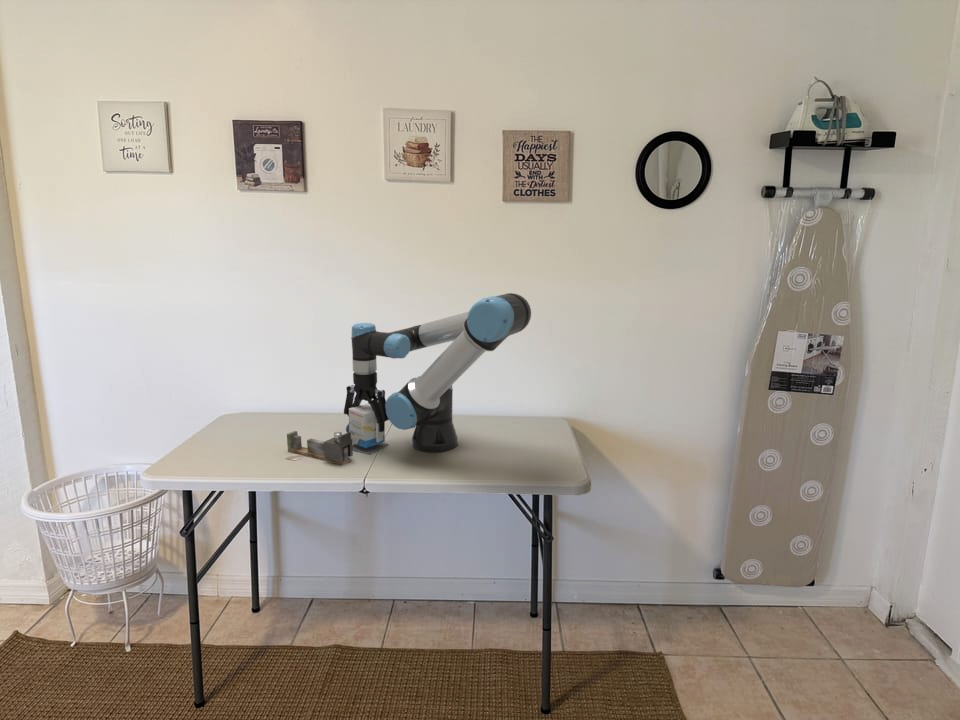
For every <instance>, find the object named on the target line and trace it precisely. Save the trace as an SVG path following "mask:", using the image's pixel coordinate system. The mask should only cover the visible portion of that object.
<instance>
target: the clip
mask: <svg viewBox="0 0 960 720" xmlns="http://www.w3.org/2000/svg"><path fill="white" fill-rule="evenodd" d="M352 445H353V443H352V439H351V432H348V433H347V432H346V433H344V434H343V432H341V431H336V432H333V437H332V438H330V439H328V440H325V441H324V453H325V459H329V460H333V461H337V462H341V461H343V457H342V448H343V447H345V446H347V447H348V458H352V457H353V456H354V451H353V446H352Z"/></svg>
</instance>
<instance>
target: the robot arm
mask: <svg viewBox="0 0 960 720" xmlns="http://www.w3.org/2000/svg"><path fill="white" fill-rule="evenodd" d="M531 319H532V308H531V306H530V304H529V302H528V300H527V299H526V298H525V297H524V296H522V295H520V294H517V293H512V292H511V293H504V294H500V295H496V296H495V295H494V296H493V295H492V296H487V297H483V298H482V299H480V300H478V301H477V302H475V303H474V304H473V305H472V306H471V308H470V309H469V310H468V311H466V312H463V313H458V314H455V315H452V316H451V315H450V316H448V317H443V318H441V319H440V318H439V319H437V320H433V321H429V322H426V323H422V324H418V325H417V324H416V325H414V326H411V327H407V328H403V329H399V330H395V331H390V332H383V331H377V328H376V327H377V326H376V325H375V324H374V323H371V322H359V323H355V324H353V325H352V326H351V337H350V338H351V350H352V353H351V354H352V371H353V374H352V377H353V378H352V381H353V384H351V385H348V386H346V398H345V402H344V408H343V414H344V415H347V416H348V417H349V408H352V407H357V406H359V405H361V403H362V401H367V404H368V403H369V404H370V405H371V407H372V409H373V411H374V414H375V416H376V418H377V421H378V422H376V442H380V441H382V440H383V431H384V430H386V428H385V427H386V426H385V425H386V424H385V423H386V422H387V421H389V422H390V423H391V425H393V426H394V427H395V428H397V429H399V430H403V431H404V430H405V431H406V430H410V429H414V431H413V435H412V438H411V445H412V447H413V448H414V449H416V450H418V451H422V452H430V453H431V452H432V453H436V452H437V453H439V452H446V451H450V450H452V449H454V448H456V447H458V444H459V443H458V435H457V431H456V428H455V426H454V422H453V390H454V389H453V385H454V384H455V383H456V382H457V381H458V379H460V377H461V376H463V374H465V372H467V370H469V369H470V368H471V366H473V365H474V364H475V362H476V361H478V360H479V358H481V356H482V355H484V354H485V352H494V351H495V350H496V349H497V348H498V347H499V346H500V345H501V344H502V343H503V342H504V341H505V340H506V339H507V338H508V337H510V336H512V335H515V334H517V333H519V332H522V331H523V330H525V329H526V328H527V327H528V325H529V324H530V321H531ZM449 342H451V343H450V344H449V345H448V346H447V347H446V349H445V350H444V351H442V353H440V355H439V356H438V357H437V358H436V359H435V360H434V361H433V363H431V364H430V366H429V367H428V368H427V369H426V370H425V371H424V372H423V373H422V374H421V375H420V376H418V377H412V378H411V379H409V381H407V383H406V384H405V385H404V386H402V388H401V389H400V390H399V391H398V392H393V393H391V395H389V396H388V397H387V398H386V391H385V390H384V389H382V390H379V389H378V388H377V384H378V373H377V372H376V371H377V370H378V369H377V357H378V356H379V357H383V358H390V359H392V360H393V359H395V360H396V359H401V360H402V359H405V358H406V357H407V355H409V353H410V352H413V351H417V350H421V349H425V348H428V347H432V346H436V345H437V346H438V345H441V344H444V343H449Z"/></svg>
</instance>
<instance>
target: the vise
mask: <svg viewBox="0 0 960 720" xmlns="http://www.w3.org/2000/svg"><path fill="white" fill-rule="evenodd" d="M286 442H287V443H286V444H287V452H288V453H291V454H292V453H293V454H292V455H289V456H287V457H285V460H289V461H298V460H300V459H302V458H304V457H308V458H312V459H317V460H321V461H324V462H325V461H326V462H329V463H332V464H333V463H334V464H337V465H341V466H343V465H345V464H347V463H350V462H351V457H348V447H347V446H345V447H343V448H342V457H343V461H341V462H337V461H333V460H329V459H325V453H324V442H325V441H324V440H319V439H314V438H308V439H307V440H306V444H307V445H306V446H307V447H304V446H302V443H303V442H302V436H301V435H298V431H297V430H293V431H291V432H288V433H286Z"/></svg>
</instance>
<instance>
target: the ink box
mask: <svg viewBox="0 0 960 720" xmlns="http://www.w3.org/2000/svg"><path fill="white" fill-rule="evenodd" d="M376 422H378V421H377V418H376V416H375V414H374V411H373V409H372V407H371V405H370V404H369V403H368V402H367V403H364V404H360V405H359V406H357V407H352V408H349V416H348V424H349V432H351V439H352V444H356V445H359V446H361V447H364V448H368V447H371V446H374V445H377V444H380V443H386V440H385V437H386V435H385V433H386V431H385V430H386V429H385V430H384V431H383V440H382V441H380V442H376Z"/></svg>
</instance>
